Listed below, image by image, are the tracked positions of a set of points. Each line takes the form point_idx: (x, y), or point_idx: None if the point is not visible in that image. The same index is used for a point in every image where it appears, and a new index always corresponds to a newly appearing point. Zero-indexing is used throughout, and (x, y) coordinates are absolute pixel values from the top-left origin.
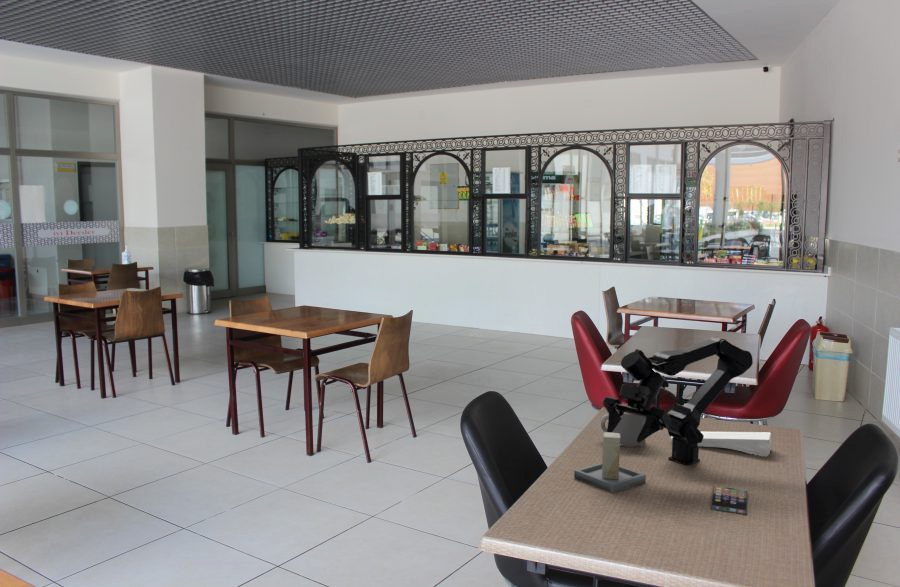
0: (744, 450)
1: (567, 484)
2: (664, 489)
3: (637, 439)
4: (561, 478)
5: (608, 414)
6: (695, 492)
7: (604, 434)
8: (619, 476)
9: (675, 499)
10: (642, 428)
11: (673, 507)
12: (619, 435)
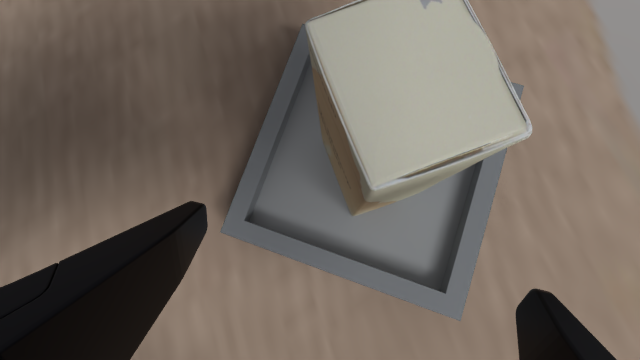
0: None
1: (488, 19)
2: (144, 196)
3: (193, 206)
4: (544, 62)
5: None
6: (30, 239)
7: (484, 42)
8: (334, 183)
9: (90, 119)
10: (88, 284)
11: (85, 46)
12: (343, 105)
